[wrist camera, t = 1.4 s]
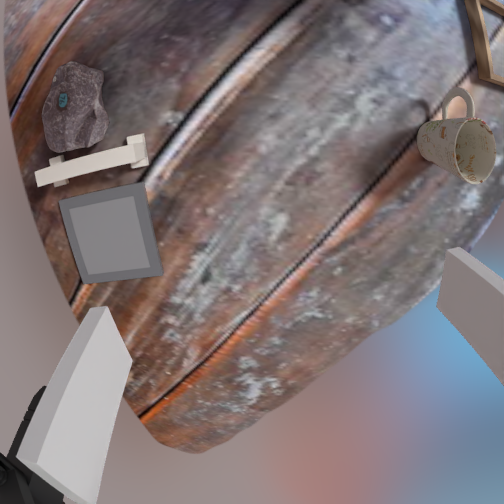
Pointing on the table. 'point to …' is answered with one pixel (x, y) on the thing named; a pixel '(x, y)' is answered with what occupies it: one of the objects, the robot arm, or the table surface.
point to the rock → (74, 108)
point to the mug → (459, 142)
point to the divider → (94, 162)
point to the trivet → (112, 234)
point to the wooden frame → (483, 38)
